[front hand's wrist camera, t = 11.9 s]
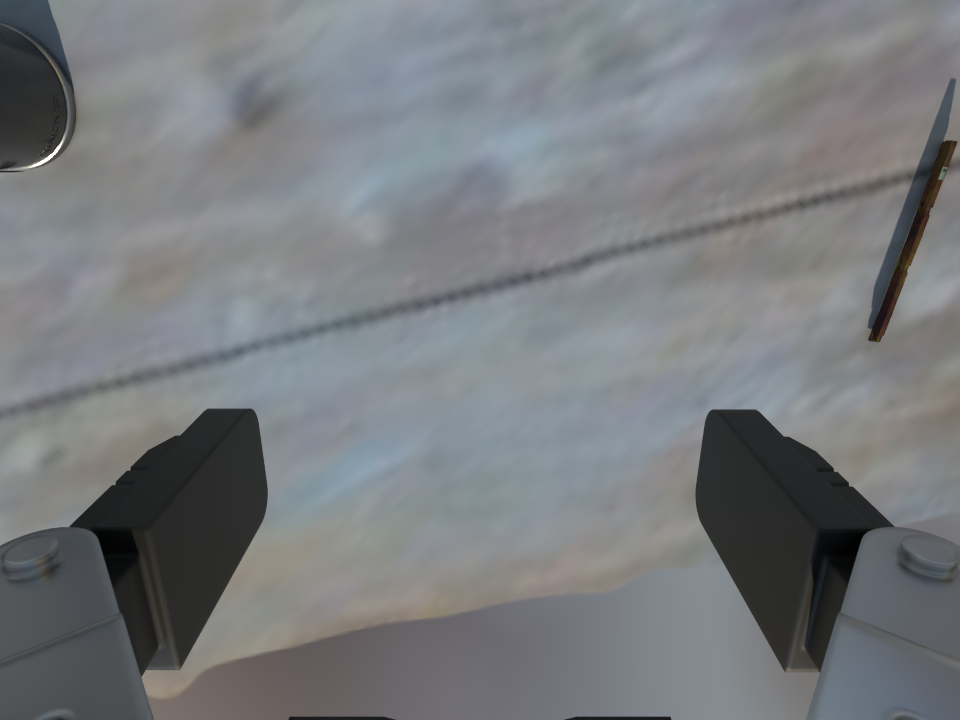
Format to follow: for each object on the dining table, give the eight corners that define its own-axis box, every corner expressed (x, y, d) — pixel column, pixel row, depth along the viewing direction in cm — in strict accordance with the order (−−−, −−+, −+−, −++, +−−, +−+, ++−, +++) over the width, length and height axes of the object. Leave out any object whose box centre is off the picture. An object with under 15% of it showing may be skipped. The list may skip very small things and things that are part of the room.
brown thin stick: (873, 340, 49) (880, 344, 48) (867, 340, 49) (875, 344, 48) (948, 141, 44) (958, 141, 43) (942, 140, 44) (952, 140, 43)
